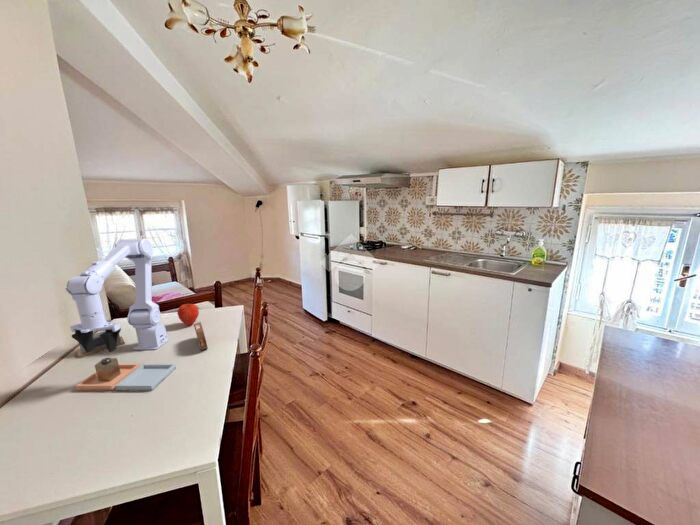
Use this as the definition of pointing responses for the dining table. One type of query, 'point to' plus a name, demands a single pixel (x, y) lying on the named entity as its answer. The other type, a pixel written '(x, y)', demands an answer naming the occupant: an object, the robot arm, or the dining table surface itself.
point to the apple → (188, 314)
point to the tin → (200, 336)
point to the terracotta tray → (96, 385)
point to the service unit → (98, 345)
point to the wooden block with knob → (107, 369)
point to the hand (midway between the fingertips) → (101, 350)
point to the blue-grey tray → (146, 377)
